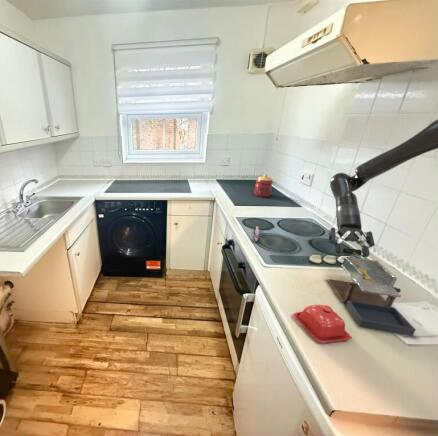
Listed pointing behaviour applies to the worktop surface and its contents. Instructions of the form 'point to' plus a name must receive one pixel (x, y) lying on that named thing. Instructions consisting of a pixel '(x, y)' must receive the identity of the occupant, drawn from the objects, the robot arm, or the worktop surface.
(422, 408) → the worktop surface
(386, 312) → the tray
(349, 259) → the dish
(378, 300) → the stand
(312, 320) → the butter dish
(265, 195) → the kitchen canister
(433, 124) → the robot arm
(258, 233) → the decorative key
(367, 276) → the key
